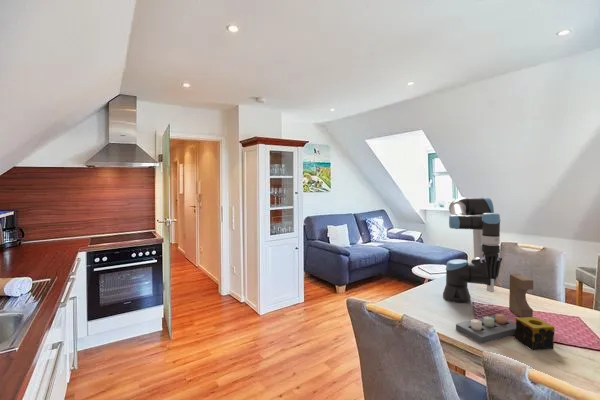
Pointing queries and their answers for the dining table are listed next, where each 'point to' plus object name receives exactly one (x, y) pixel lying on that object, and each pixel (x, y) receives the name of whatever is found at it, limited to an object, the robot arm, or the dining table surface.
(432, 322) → the dining table surface
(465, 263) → the robot arm
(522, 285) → the decorative block
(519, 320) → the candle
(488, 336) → the panel
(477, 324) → the cream button
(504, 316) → the terracotta button
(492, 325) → the sage button
